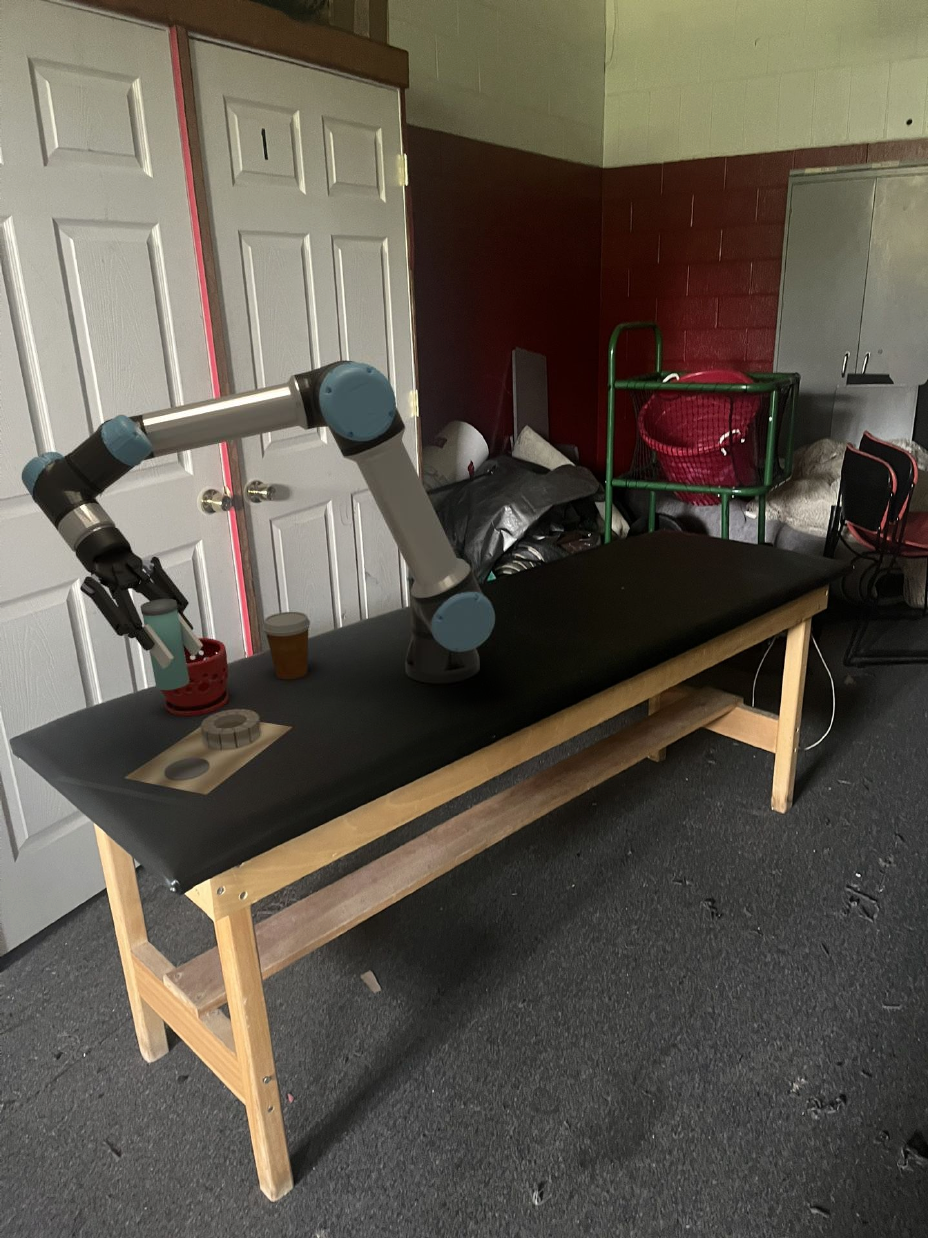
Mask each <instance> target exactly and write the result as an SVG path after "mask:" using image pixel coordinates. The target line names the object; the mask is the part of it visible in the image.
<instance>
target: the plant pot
mask: <svg viewBox="0 0 928 1238" xmlns="http://www.w3.org/2000/svg"><path fill="white" fill-rule="evenodd" d="M197 638H198V639H199V640H200V642H201V643H202V644H203V646H202V648H201V649H200V650H199V652H200V651H202V652H203V654H200V653H199V652H198V653H197V654H196V655H194V656H193V657H194V659H192V658H191V656H192V655H191V654H190V652H189V651H188V650H187V648H186V647H185V646H184V644H183V646H184V652H185V658H186V664H187V669H188V675H189V683H188V684H187V685H185V686H183V687H181V688H177V689H172V690H160V691H161V694H163V696H164V697H165V699H166V700H165V703H164V707H165V709H166V711H168V712H169V713H170V714H173V715H175V716H179V717H180V716H182V717H190V716H191V717H195V716H200V715H205V714H208V713H209V714H210V713H211V712H212V713H213V712H214V711H218V710H219V709H221V708H223V707H224V706H225V705H226V704H227V702H228V700H229V699H230V697H229V692H228V691H227V689H226V687H227V683H228V678H229V666H228V655H227V650H226V649H227V648H226V646H225V644H224V643H223V642H221V641H220V640H217V639H214V638H208V637H207V638H206V637H197ZM206 658H207V659H206Z"/></svg>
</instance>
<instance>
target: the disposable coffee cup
mask: <svg viewBox="0 0 928 1238" xmlns="http://www.w3.org/2000/svg"><path fill="white" fill-rule="evenodd" d="M310 625H311V620H309V618H308V615H307V614H306V613H303V612H299V611H283V612H277V613H274V614H271V615H268V616H266V617H265V618H264V620H263V625H262V630H263V632H264V633H265V636H266V641H267V644H268V648H269V651H270V654H271V660H272V664H273V667H274V671H275V675H276V677H277V678H278V679H281V680H295V679H296V680H297V679H299V678H302V677H305V676H306V675H307V674H308V660H309V659H308V657H309V656H308V655H309V654H308V653H309V629H310Z"/></svg>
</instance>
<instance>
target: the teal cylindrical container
mask: <svg viewBox="0 0 928 1238" xmlns="http://www.w3.org/2000/svg"><path fill="white" fill-rule="evenodd" d="M140 611H141V615H142V619H143V624H144V625H147V624H149V625H150V626H151V628H152V629H153V630H154V632H155V633H156V634H157V636H158V637H159V638H160V640H161V641H162V642H163V644H164V645H165V646H166V648H167V649H168V650H169V652H170V653H171V654H172V656H173V657H174V658H173V660H172V661H171V662H170V664H169V665H168V667H166V668H164V669H163V668H162V667H161V665H160V664H159V663H158V661H157V660H156V659H155V657H154V656H153V655H152V653H151V652H150V651H149V650H148V651H149V656H150V662H151V666H152V667H151V668H152V672H153V677H154V683H155V688H156V689H158V690H160V691H161V690H172V689H177V688H181V687H183V686H185V685H187V684H188V683H189V675H188V669H187V663H186V658H185V652H184V646H183V641H182V635H181V629H180V623H179V618H178V612H177V602H176V600H174V599H159V600H153V601H149V600H148V601H147V602H144V603H143V604H141V605H140Z"/></svg>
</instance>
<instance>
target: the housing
mask: <svg viewBox="0 0 928 1238" xmlns="http://www.w3.org/2000/svg"><path fill="white" fill-rule="evenodd" d="M200 724H201V725H200V726H199V727H198V728H196V729H195V730H194V731H192V732H190V733H189V734H187V735H186V736H185V737H183V738H182V739H180V740H178V741H177V742H175V743H174V744H173V745H171V746H170V747H168V748H167V749H165V750H164V751H163V752H160V753H159V754H158V755H157V756H154V757H153V758H152V759H150V760H149V761H147V762H146V763H144V764H142V765H141V766H139V768H137V769H135V770H134V771H132V772H131V773H129V774H128V775H126V776H125V777H124V779H125V780H126V779H127V780H131V781H136V782H142V783H146V784H152V785H156V786H161V787H165V788H171V789H175V790H176V789H177V790H181V791H187V792H191V793H196V794H200V795H205V796H207V795H208V794H209V793H211V792H212V791H213V790H215V788H216V787H218V786H220V785H221V784H222V783H223V782H225V781H226V780H227V779H228V778H229V777H231V776H232V775H234V774H235V773H236V772H237V771H238V770H239V769H241V768H242V767H244V766H245V765H246V764H247V763H249V762H250V761H252V759H254V758H255V757H257V755H259V754H261V753H262V752H263V751H264V750H266V748H268V747H270V745H272V744H274V742H276V741H277V740H278V739H280V738H281V737H282V736H284V735H285V734H287V732H289V731H290V730H291V729H292V728H293V726H289V725H288V726H287V725H281V724H275V723H268V722H262V721H260V715H259V714H258V713H257V712H255V711H254V710H250V709H244V708H241V709H240V708H234V709H227V710H222V711H219V712H216V713H213V714H210V715H208V717H206V718H205V719H203V721H201V723H200Z"/></svg>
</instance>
